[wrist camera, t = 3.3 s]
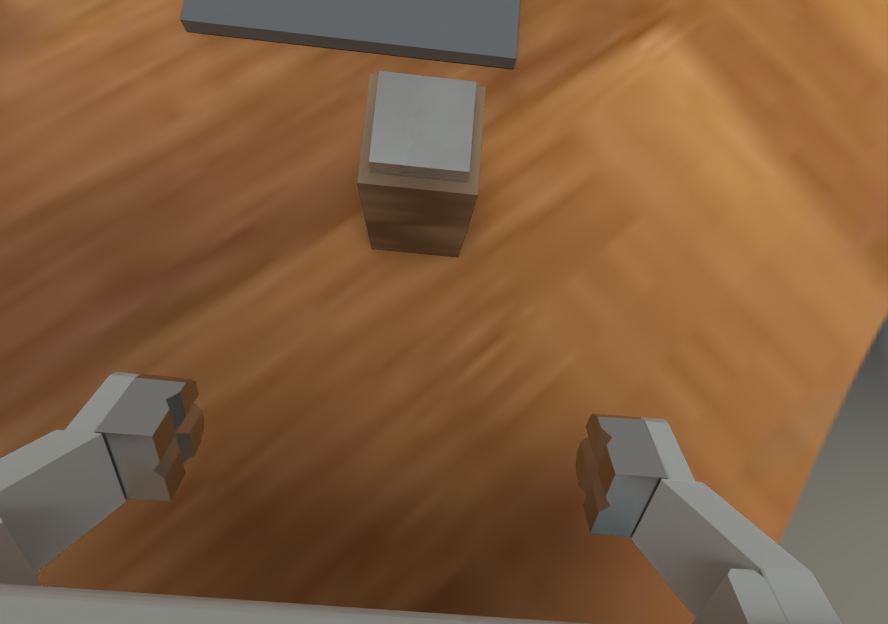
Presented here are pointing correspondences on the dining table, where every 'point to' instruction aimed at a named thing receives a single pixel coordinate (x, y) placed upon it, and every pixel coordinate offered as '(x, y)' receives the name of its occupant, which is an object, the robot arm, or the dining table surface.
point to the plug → (420, 161)
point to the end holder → (371, 26)
